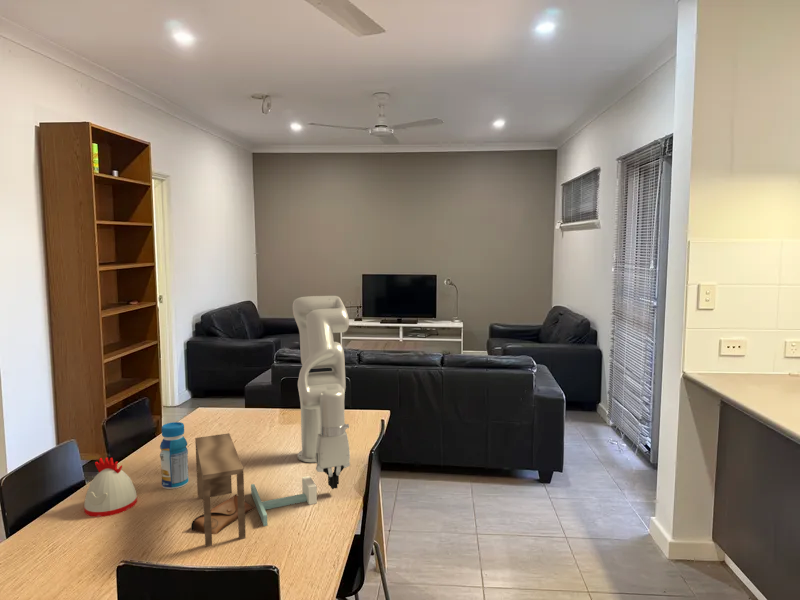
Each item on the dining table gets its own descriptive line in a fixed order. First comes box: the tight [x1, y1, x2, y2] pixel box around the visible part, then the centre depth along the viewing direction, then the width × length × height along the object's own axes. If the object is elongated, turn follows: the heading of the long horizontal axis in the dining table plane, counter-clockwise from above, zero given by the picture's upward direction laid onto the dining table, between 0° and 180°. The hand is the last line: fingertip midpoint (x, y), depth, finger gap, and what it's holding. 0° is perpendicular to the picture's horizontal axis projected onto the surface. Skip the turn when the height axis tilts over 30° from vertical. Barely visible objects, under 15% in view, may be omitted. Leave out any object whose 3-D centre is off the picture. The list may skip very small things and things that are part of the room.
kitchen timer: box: [83, 457, 138, 518], centre depth 159 cm, size 14×14×15 cm
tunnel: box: [194, 432, 247, 548], centre depth 152 cm, size 10×30×19 cm, turn 24°
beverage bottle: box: [159, 421, 190, 490], centre depth 173 cm, size 8×8×20 cm
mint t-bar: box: [250, 475, 318, 527], centre depth 160 cm, size 17×22×5 cm
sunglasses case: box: [190, 493, 256, 535], centre depth 152 cm, size 18×7×7 cm
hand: (333, 486), depth 166 cm, fingers closed
